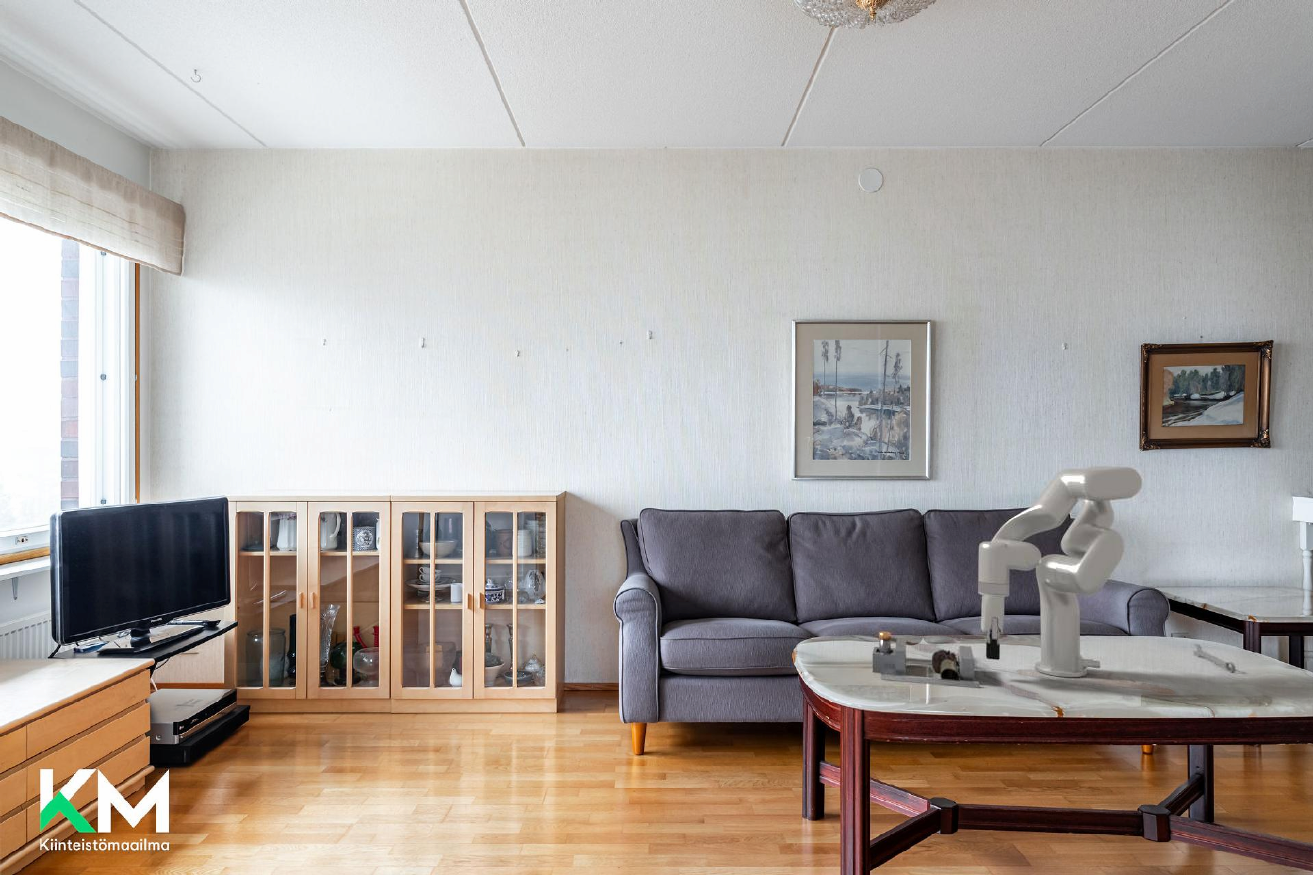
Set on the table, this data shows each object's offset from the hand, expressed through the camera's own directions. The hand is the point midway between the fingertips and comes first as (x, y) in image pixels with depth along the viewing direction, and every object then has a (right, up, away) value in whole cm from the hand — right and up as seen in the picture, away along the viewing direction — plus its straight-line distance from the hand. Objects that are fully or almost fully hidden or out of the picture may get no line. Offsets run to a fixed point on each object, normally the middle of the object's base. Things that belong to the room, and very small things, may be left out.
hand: (992, 658), depth 207 cm
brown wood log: (-11, -6, +4) cm, 13 cm away
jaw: (-6, -5, +2) cm, 8 cm away
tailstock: (-25, -6, +9) cm, 27 cm away
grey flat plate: (-15, -5, +5) cm, 17 cm away
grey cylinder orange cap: (-26, -6, +9) cm, 28 cm away
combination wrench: (+69, -6, +15) cm, 70 cm away
